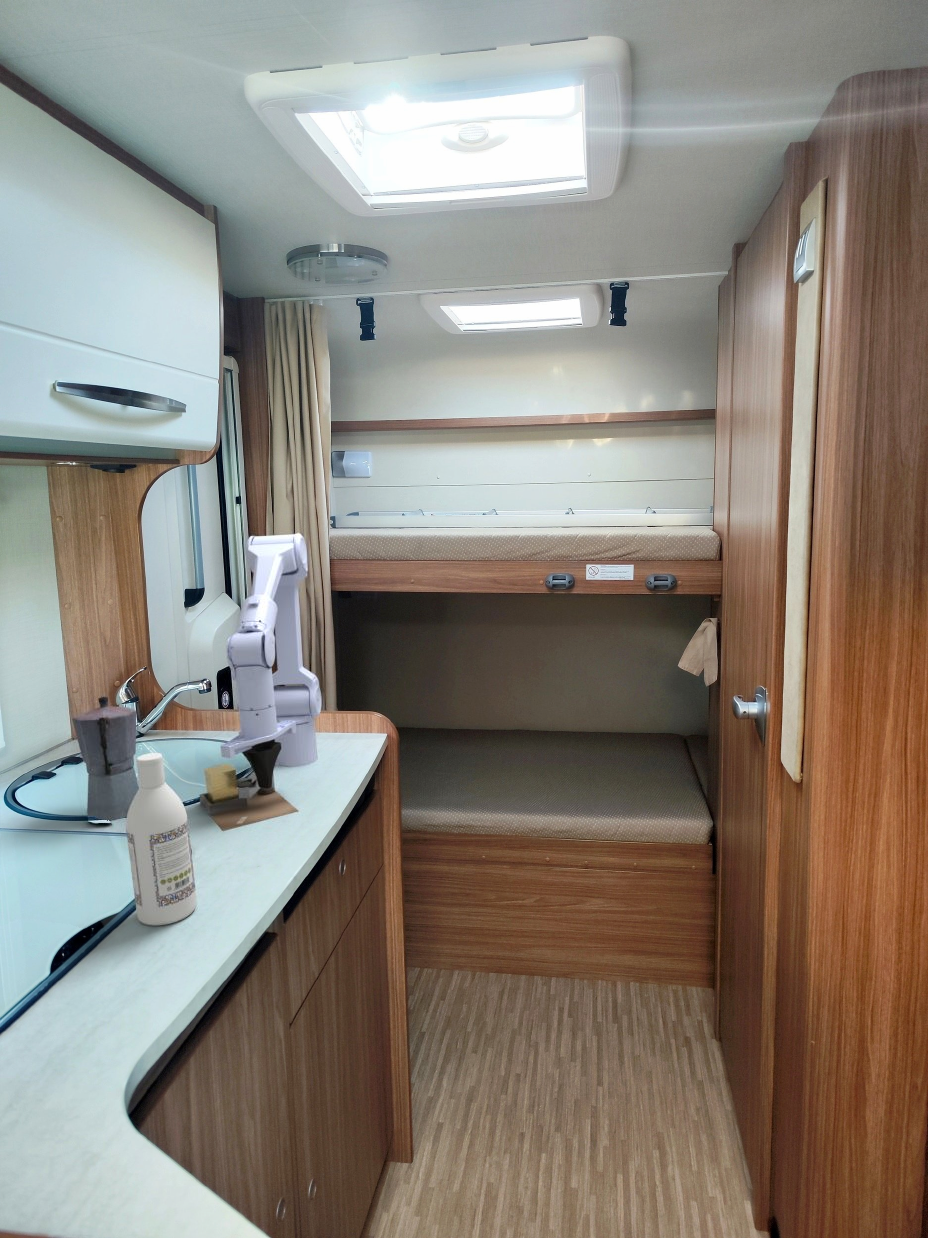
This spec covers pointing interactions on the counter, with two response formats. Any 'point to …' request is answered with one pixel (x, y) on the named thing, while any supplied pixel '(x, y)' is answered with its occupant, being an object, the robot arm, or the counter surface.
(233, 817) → the base
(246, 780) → the crank
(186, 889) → the bath foam
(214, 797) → the block
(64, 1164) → the counter surface
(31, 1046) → the counter surface
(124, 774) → the moka pot
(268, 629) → the robot arm
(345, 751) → the counter surface
